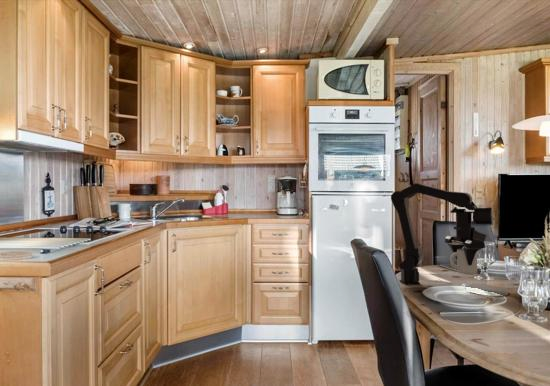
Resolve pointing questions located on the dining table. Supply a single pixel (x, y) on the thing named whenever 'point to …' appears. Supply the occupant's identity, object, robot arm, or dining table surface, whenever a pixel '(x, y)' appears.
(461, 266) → the cup
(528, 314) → the dining table surface
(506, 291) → the saucer
